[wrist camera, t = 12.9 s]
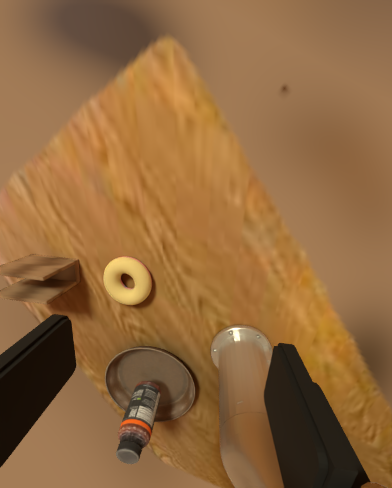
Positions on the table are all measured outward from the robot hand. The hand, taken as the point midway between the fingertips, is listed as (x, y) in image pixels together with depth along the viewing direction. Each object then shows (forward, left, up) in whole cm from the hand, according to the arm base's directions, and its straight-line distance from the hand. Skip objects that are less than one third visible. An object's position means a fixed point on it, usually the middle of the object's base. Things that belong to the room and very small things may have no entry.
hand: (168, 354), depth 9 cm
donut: (+14, +11, -29) cm, 34 cm away
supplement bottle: (+9, +36, -26) cm, 45 cm away
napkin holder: (+30, +11, -28) cm, 43 cm away
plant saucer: (+9, +36, -29) cm, 47 cm away
